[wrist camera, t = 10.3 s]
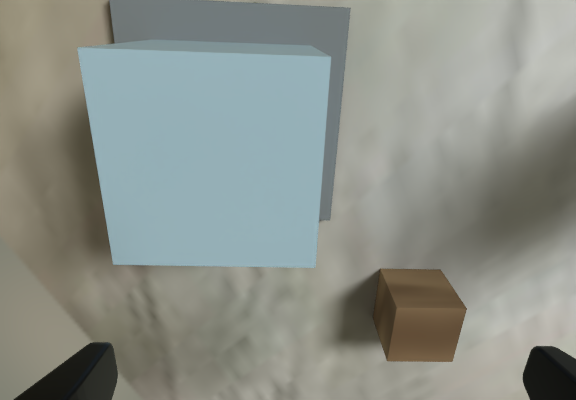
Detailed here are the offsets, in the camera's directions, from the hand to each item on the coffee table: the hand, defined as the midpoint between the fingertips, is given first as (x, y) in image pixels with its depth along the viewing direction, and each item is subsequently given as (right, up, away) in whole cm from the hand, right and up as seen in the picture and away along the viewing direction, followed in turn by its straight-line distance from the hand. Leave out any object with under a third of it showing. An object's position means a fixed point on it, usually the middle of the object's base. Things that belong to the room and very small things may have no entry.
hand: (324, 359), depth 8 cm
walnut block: (+6, -2, +15) cm, 16 cm away
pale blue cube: (-3, +7, +10) cm, 13 cm away
